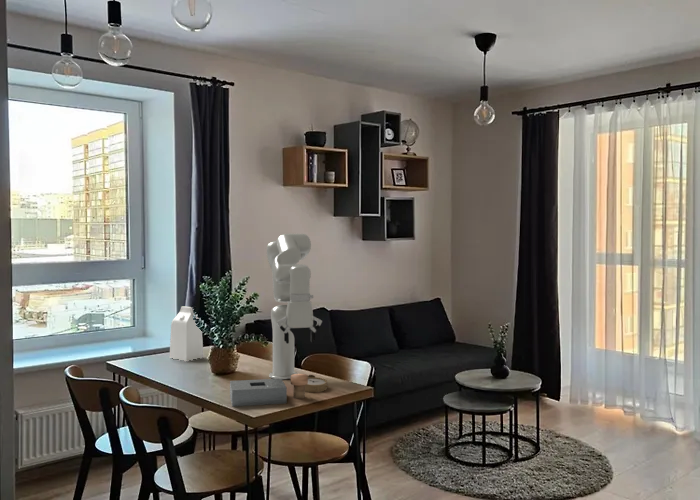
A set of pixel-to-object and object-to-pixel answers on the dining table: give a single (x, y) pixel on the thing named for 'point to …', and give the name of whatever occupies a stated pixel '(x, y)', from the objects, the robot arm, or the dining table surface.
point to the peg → (299, 385)
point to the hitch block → (258, 392)
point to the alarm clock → (315, 384)
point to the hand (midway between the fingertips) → (299, 342)
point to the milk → (185, 336)
